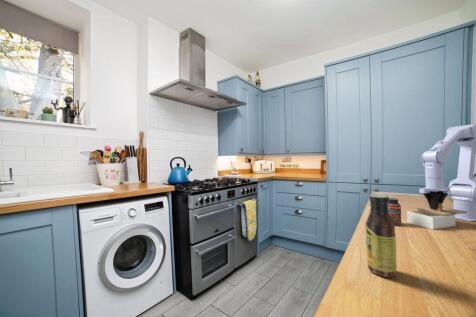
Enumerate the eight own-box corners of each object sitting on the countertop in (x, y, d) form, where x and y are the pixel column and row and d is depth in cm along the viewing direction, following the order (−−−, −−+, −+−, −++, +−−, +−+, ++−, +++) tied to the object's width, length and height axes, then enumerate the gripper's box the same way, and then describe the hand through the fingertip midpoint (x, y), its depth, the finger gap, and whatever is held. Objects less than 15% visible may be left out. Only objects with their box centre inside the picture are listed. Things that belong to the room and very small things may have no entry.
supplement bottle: (388, 225, 86) (386, 199, 86) (382, 221, 92) (381, 197, 92) (404, 226, 84) (403, 200, 84) (397, 222, 90) (396, 197, 90)
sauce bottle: (368, 263, 55) (366, 192, 56) (397, 270, 51) (394, 194, 52) (365, 273, 50) (362, 195, 51) (396, 282, 46) (393, 198, 47)
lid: (437, 207, 93) (437, 198, 94) (467, 213, 83) (466, 203, 83) (417, 209, 91) (416, 200, 91) (444, 215, 81) (444, 205, 81)
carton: (428, 220, 92) (427, 209, 92) (455, 226, 82) (455, 214, 82) (407, 222, 89) (406, 211, 90) (433, 229, 80) (432, 217, 80)
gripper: (432, 179, 81) (433, 212, 81) (458, 177, 84) (459, 209, 84) (413, 178, 88) (414, 208, 88) (438, 176, 91) (440, 206, 91)
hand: (435, 208), depth 87 cm, fingers closed on lid, 2 cm apart
